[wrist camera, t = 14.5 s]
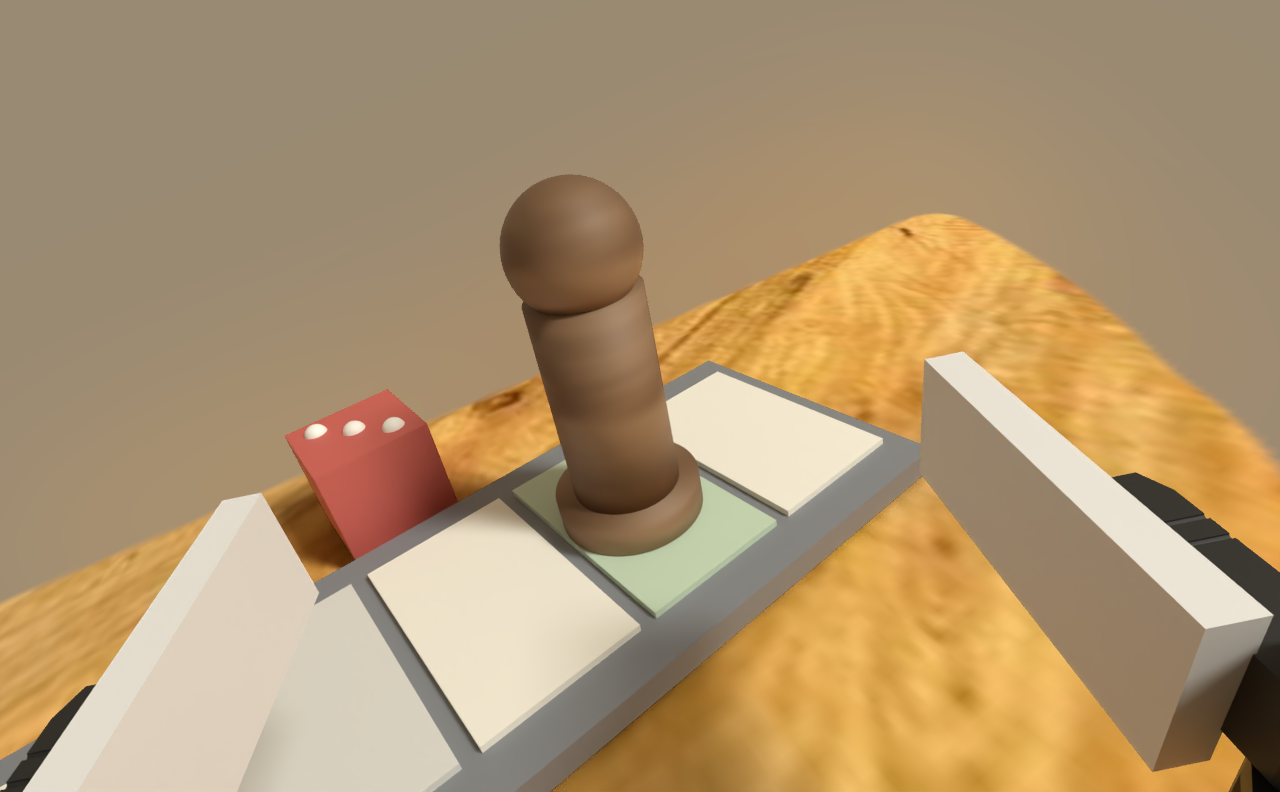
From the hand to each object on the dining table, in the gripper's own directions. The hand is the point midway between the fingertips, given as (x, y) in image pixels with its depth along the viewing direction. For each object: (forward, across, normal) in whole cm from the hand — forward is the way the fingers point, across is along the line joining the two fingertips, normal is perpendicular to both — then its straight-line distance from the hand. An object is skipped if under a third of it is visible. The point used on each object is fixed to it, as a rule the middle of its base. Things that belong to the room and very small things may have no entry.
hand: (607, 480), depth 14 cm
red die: (+13, -10, -9) cm, 19 cm away
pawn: (+9, 0, -8) cm, 12 cm away
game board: (+5, -5, -9) cm, 12 cm away
